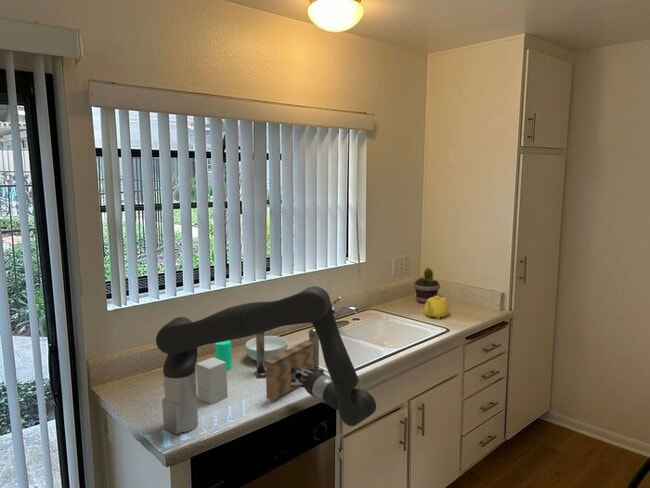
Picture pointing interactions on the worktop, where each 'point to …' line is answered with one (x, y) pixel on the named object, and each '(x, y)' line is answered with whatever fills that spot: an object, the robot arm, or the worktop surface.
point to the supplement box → (212, 380)
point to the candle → (224, 353)
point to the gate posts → (261, 352)
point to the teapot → (436, 307)
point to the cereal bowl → (267, 347)
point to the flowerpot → (426, 287)
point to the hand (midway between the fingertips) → (293, 369)
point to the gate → (287, 368)
